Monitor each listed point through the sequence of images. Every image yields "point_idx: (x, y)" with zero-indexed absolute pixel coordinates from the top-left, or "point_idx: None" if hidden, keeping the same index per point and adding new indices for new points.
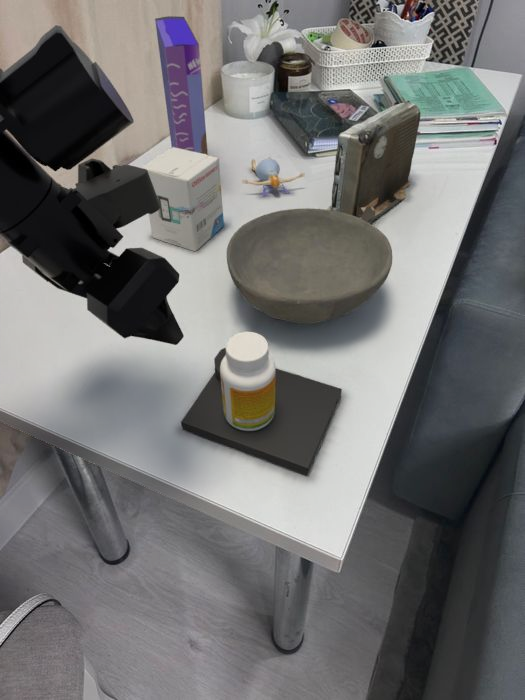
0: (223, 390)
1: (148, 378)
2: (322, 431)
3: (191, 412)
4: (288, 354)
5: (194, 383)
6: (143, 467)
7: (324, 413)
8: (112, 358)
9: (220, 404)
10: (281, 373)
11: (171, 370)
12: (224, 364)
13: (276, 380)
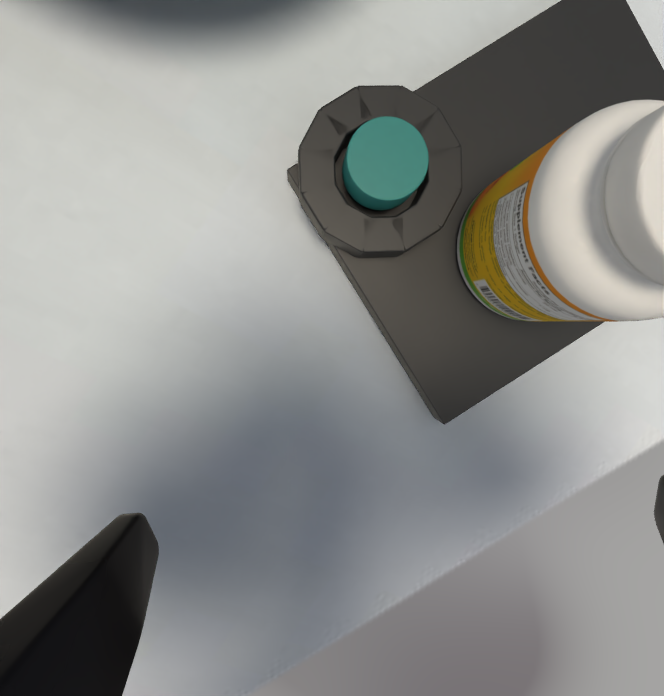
0: (582, 320)
1: (212, 414)
2: None
3: (432, 385)
4: (367, 4)
5: (307, 310)
6: (477, 546)
7: (647, 76)
8: (69, 471)
9: (454, 301)
10: (458, 80)
11: (220, 342)
12: (616, 290)
13: (473, 111)
